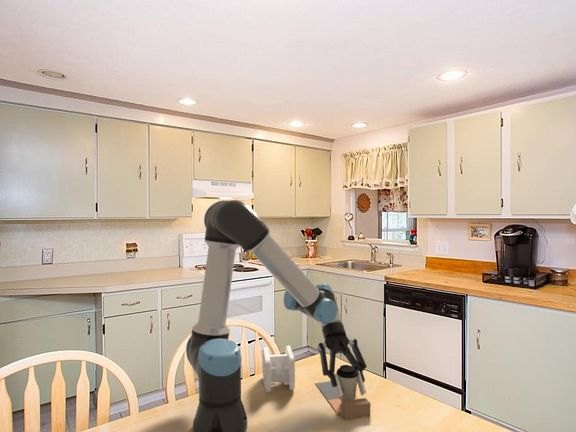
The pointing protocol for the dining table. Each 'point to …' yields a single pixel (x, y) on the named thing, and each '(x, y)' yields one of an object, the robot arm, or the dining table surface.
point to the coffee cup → (348, 381)
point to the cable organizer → (278, 368)
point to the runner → (345, 403)
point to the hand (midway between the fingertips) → (352, 395)
